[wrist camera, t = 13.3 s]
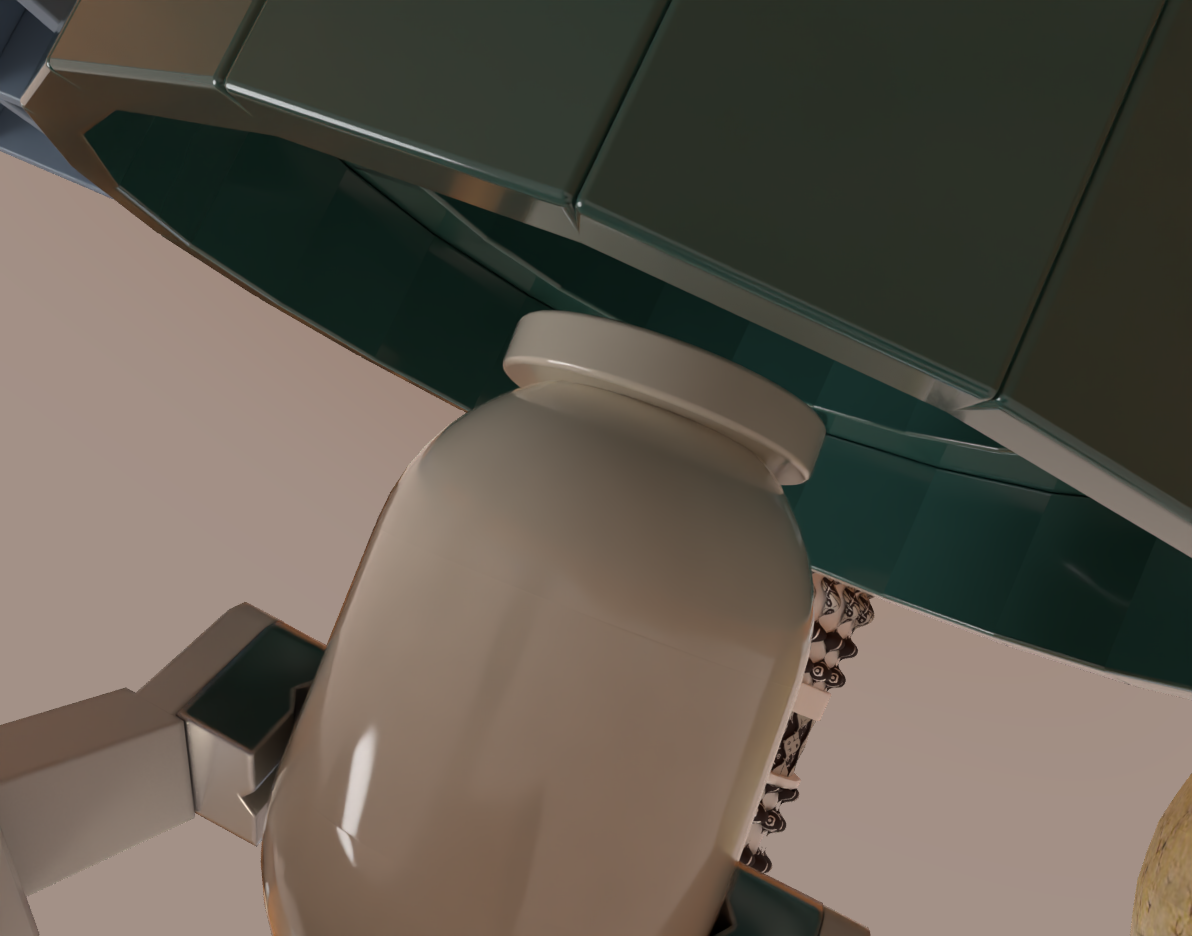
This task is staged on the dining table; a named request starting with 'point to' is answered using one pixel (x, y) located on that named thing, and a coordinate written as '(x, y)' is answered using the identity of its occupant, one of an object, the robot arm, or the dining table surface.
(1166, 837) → the fossilized egg
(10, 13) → the divided tray
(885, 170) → the bowl
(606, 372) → the cream capsule
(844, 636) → the decorative candle
